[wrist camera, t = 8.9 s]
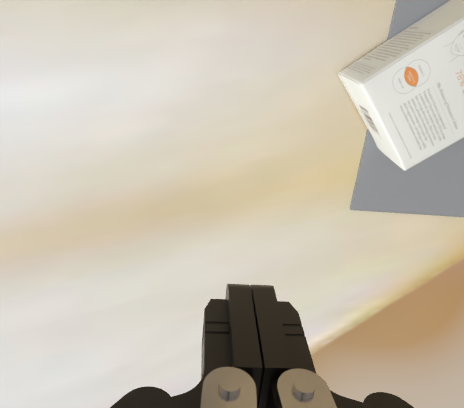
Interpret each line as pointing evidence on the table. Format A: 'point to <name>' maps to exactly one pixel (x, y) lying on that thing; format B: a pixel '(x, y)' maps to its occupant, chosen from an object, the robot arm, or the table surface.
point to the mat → (422, 174)
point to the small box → (414, 87)
